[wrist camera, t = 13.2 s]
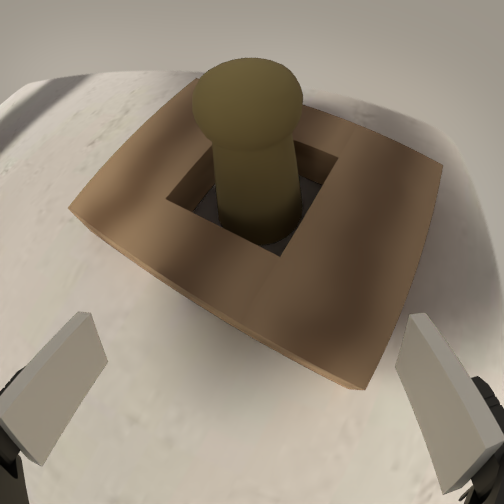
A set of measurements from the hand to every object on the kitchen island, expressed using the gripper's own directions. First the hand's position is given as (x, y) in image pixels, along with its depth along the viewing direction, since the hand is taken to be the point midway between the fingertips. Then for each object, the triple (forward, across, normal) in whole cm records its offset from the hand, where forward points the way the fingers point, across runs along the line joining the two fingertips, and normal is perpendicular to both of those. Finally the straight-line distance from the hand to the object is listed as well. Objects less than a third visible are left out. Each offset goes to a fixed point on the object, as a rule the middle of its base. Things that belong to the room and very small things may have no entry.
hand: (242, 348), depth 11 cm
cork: (+12, 0, +3) cm, 12 cm away
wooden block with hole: (+12, 0, +3) cm, 12 cm away
